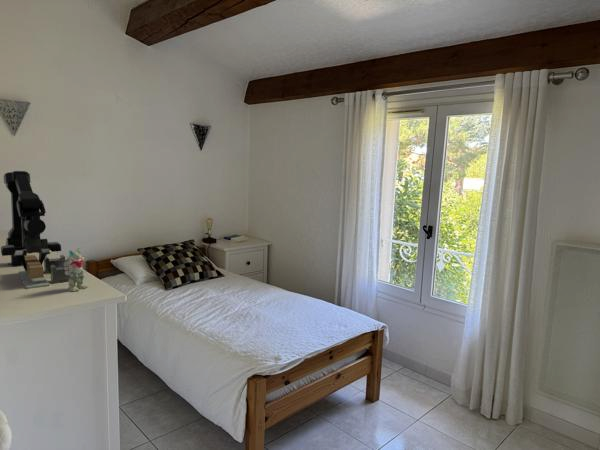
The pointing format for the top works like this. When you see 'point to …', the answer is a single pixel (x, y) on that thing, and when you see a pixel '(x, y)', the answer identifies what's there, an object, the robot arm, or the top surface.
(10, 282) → the top surface
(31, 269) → the rail
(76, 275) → the figurine
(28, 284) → the pad
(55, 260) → the rack
